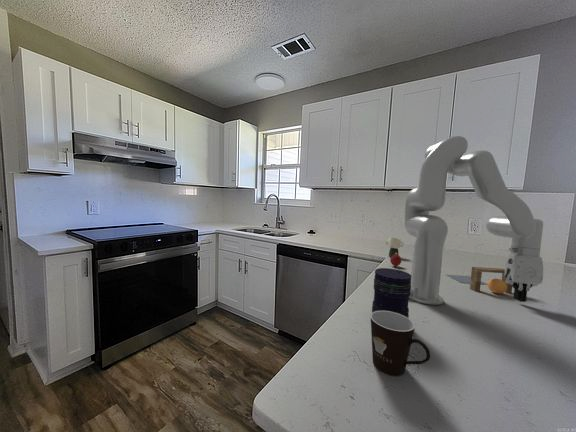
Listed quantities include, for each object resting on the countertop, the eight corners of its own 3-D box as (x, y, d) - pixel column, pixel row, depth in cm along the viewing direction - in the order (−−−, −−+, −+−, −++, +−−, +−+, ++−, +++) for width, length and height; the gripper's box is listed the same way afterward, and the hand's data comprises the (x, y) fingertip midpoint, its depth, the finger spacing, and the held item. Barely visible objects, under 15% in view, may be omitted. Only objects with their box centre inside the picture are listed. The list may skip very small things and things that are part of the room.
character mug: (403, 257, 157) (405, 238, 156) (400, 259, 151) (402, 239, 150) (386, 255, 164) (388, 236, 163) (383, 256, 158) (384, 237, 157)
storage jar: (391, 335, 61) (396, 280, 61) (363, 318, 70) (367, 269, 69) (415, 327, 66) (419, 276, 65) (386, 312, 75) (390, 266, 74)
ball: (482, 286, 102) (492, 296, 96) (486, 275, 99) (497, 286, 94) (496, 285, 101) (507, 296, 96) (501, 275, 98) (513, 285, 93)
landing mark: (461, 282, 109) (461, 282, 109) (445, 274, 121) (445, 274, 121) (487, 284, 108) (487, 284, 108) (468, 276, 120) (468, 275, 120)
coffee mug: (361, 352, 54) (364, 310, 53) (396, 352, 55) (399, 310, 54) (386, 393, 42) (390, 340, 42) (431, 392, 43) (435, 340, 42)
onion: (402, 268, 129) (403, 254, 129) (391, 267, 130) (392, 253, 130) (399, 265, 135) (400, 252, 135) (388, 264, 136) (389, 251, 136)
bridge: (511, 293, 98) (514, 270, 97) (474, 291, 99) (477, 268, 98) (505, 290, 101) (507, 268, 100) (469, 288, 102) (471, 266, 101)
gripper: (513, 252, 82) (507, 303, 83) (557, 255, 81) (551, 306, 83) (495, 248, 90) (490, 294, 91) (535, 250, 89) (530, 297, 90)
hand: (519, 300), depth 87 cm, fingers closed
